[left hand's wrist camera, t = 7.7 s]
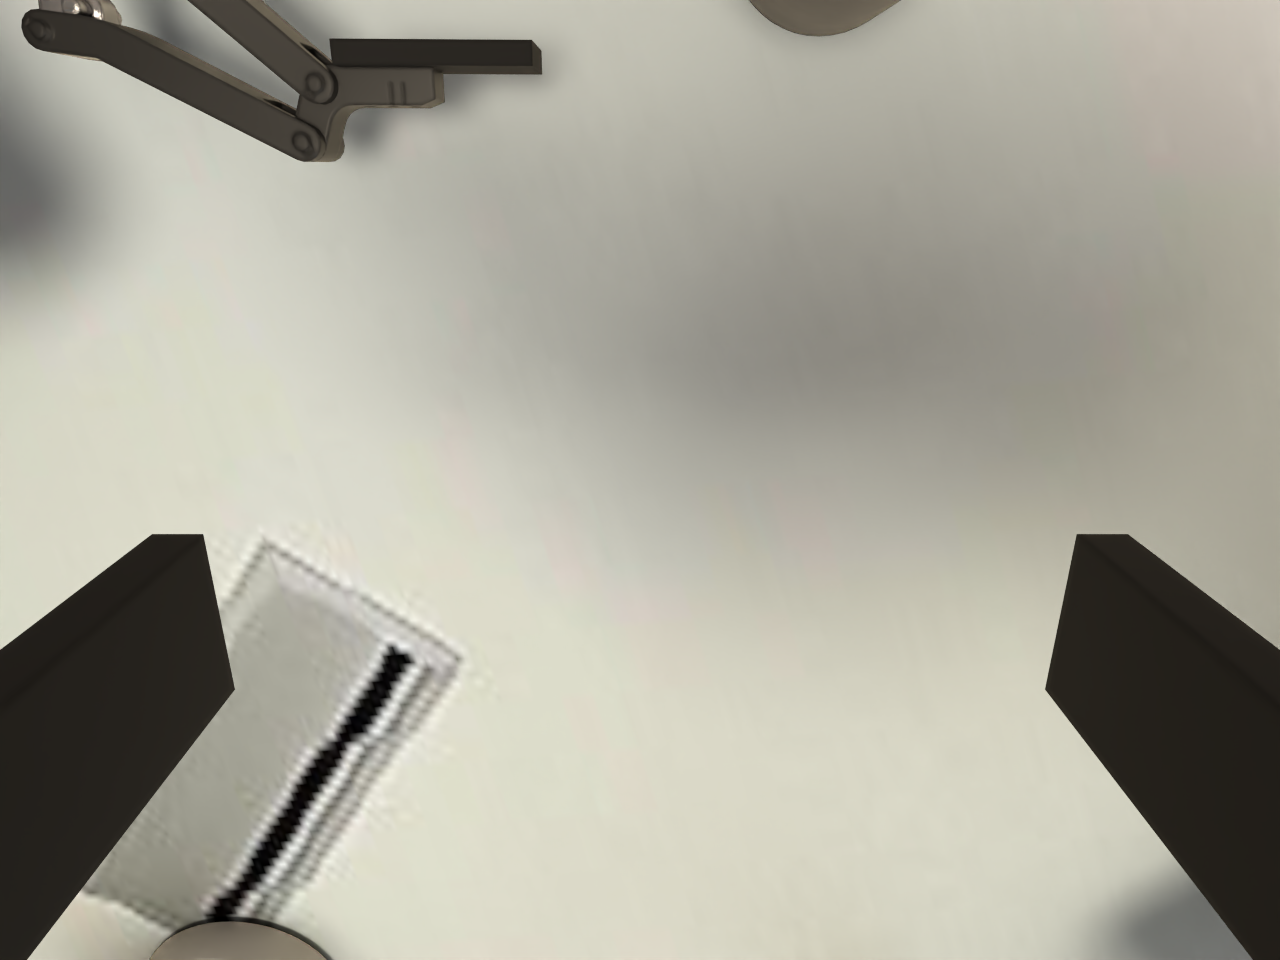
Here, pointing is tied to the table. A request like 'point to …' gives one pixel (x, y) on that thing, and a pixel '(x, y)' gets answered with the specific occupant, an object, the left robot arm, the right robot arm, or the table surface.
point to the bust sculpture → (234, 944)
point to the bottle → (821, 14)
